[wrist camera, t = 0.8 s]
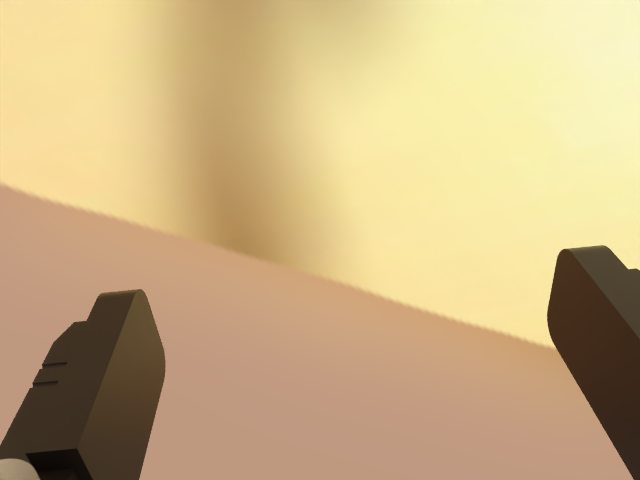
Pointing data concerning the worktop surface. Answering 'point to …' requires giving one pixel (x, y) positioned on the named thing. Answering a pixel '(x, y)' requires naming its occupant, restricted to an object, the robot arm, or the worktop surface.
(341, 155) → the worktop surface
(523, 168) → the worktop surface
